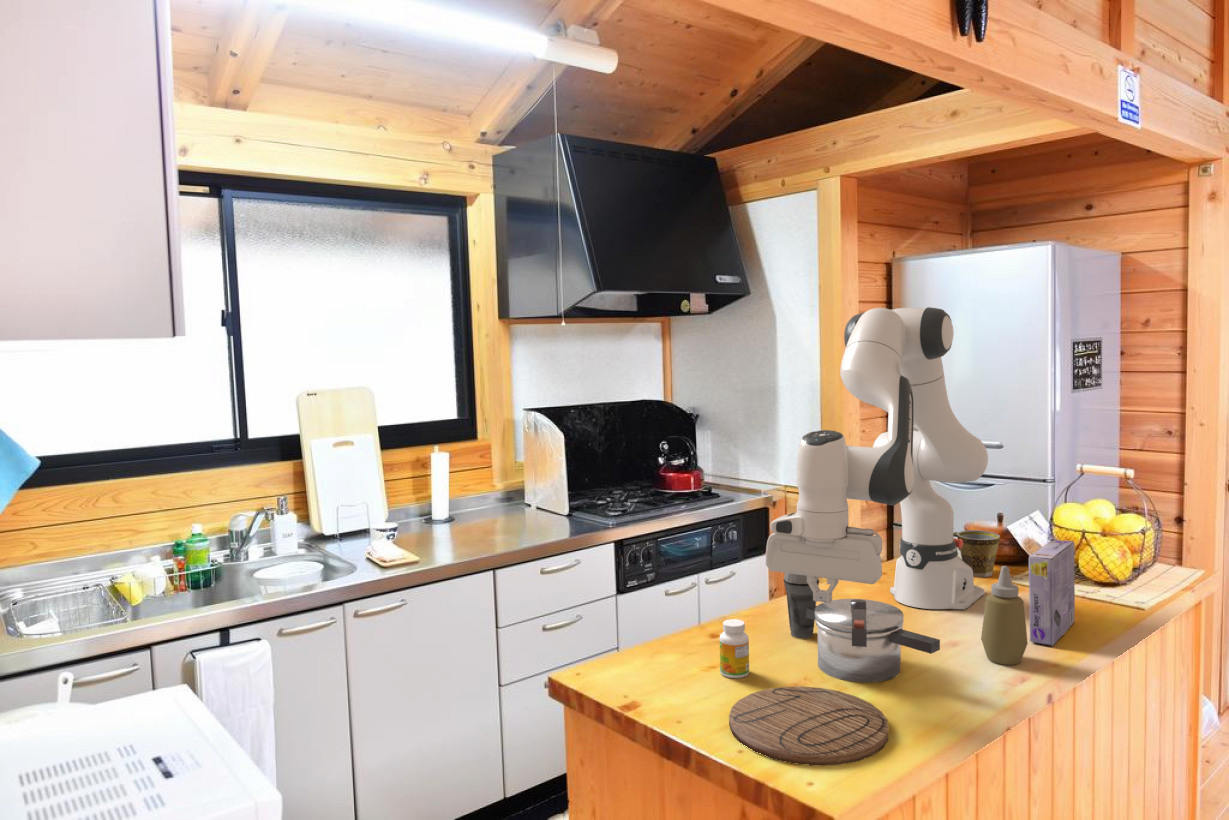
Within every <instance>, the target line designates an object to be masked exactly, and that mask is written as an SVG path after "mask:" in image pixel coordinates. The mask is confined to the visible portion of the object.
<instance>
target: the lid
mask: <svg viewBox="0 0 1229 820" xmlns="http://www.w3.org/2000/svg"><path fill="white" fill-rule="evenodd" d="M816 606H817V607H816V608H815V619H816V620H817V621H818V622H819V623H820V624H822V625H824V626H826V627H829V628H832V629H836V630H840V631H846V632H852V646H860V647H867V633H880V632H887V631H891V630H894V629H897V628H899V627H900V626H902V624H903V625H904V618H905V617H904V615H905V614H904V612H903V611H902V610H901V609H900V608H898V607H897V606H894V605H893V604H890V603H887V602H883V601H879V600H871V599H864V598H841V599H840V598H839V599H832V601H831V602H830V603H825V602H821V603H819V604H818V605H816Z"/></svg>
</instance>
